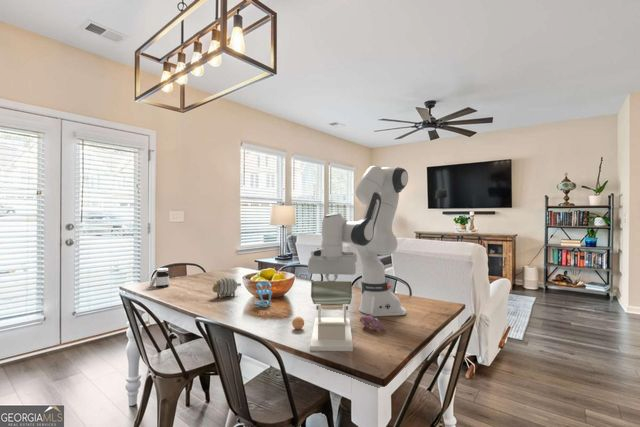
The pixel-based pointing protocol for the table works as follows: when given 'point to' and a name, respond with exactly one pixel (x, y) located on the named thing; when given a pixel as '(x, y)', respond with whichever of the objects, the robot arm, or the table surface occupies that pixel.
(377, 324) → the purple grapes
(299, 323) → the ball
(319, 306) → the white stand
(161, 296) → the table surface
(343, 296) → the green open box
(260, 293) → the light blue lumpy piece
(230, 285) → the toy sheep
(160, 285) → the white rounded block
